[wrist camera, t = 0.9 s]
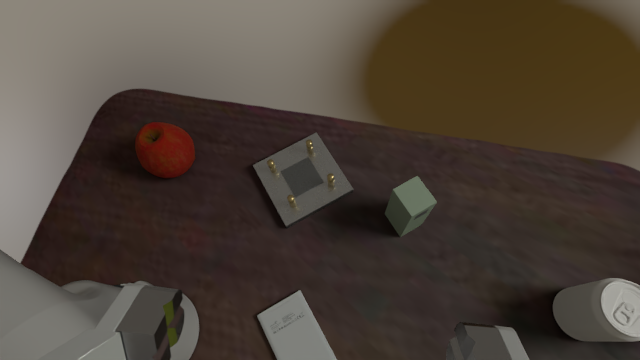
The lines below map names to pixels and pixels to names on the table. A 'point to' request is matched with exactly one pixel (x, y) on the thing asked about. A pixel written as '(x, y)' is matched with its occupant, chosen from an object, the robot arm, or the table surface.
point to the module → (409, 206)
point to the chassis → (302, 179)
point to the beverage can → (600, 311)
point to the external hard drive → (294, 331)
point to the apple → (164, 149)
